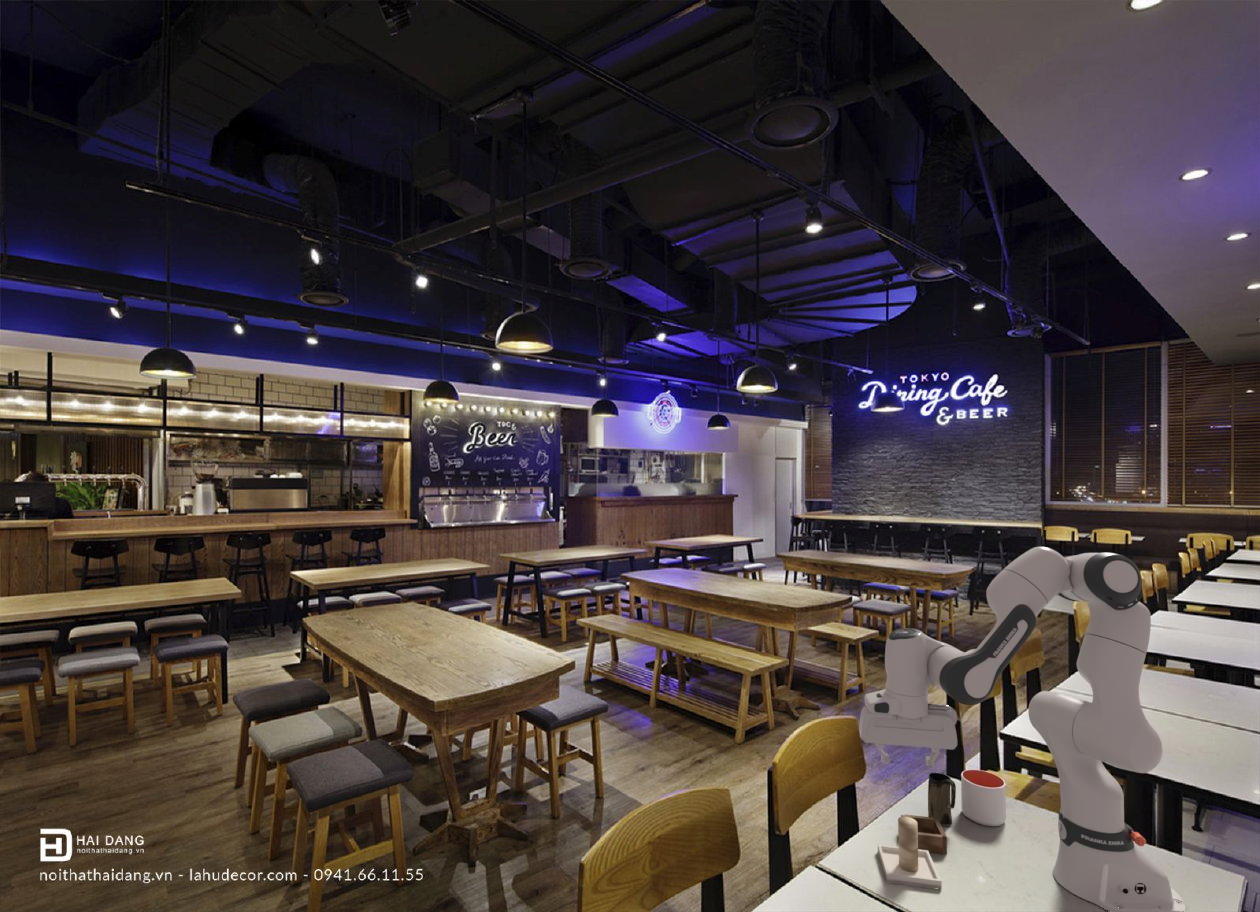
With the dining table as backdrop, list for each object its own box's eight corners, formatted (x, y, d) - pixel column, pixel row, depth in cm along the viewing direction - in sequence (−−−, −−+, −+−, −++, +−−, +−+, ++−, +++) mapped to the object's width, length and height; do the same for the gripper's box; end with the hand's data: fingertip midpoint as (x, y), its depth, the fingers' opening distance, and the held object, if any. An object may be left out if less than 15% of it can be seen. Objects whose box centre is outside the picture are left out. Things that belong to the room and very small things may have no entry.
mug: (923, 815, 162) (922, 769, 162) (941, 813, 163) (941, 767, 163) (944, 833, 154) (943, 784, 154) (963, 830, 155) (963, 781, 155)
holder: (937, 834, 153) (937, 818, 153) (947, 855, 145) (947, 837, 145) (900, 830, 155) (900, 813, 155) (908, 850, 147) (908, 833, 147)
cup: (1012, 830, 155) (1012, 790, 155) (968, 826, 157) (968, 786, 157) (997, 809, 165) (996, 771, 165) (956, 805, 167) (956, 767, 167)
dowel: (916, 862, 141) (915, 817, 141) (920, 873, 137) (919, 827, 137) (897, 860, 142) (896, 815, 142) (900, 871, 138) (900, 825, 138)
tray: (928, 858, 144) (928, 850, 144) (941, 889, 133) (941, 881, 133) (877, 852, 146) (877, 844, 146) (886, 882, 135) (886, 874, 135)
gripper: (952, 700, 141) (953, 761, 141) (857, 694, 146) (858, 753, 145) (960, 711, 135) (962, 775, 135) (861, 704, 139) (862, 766, 139)
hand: (907, 764), depth 140 cm, fingers open, 8 cm apart
